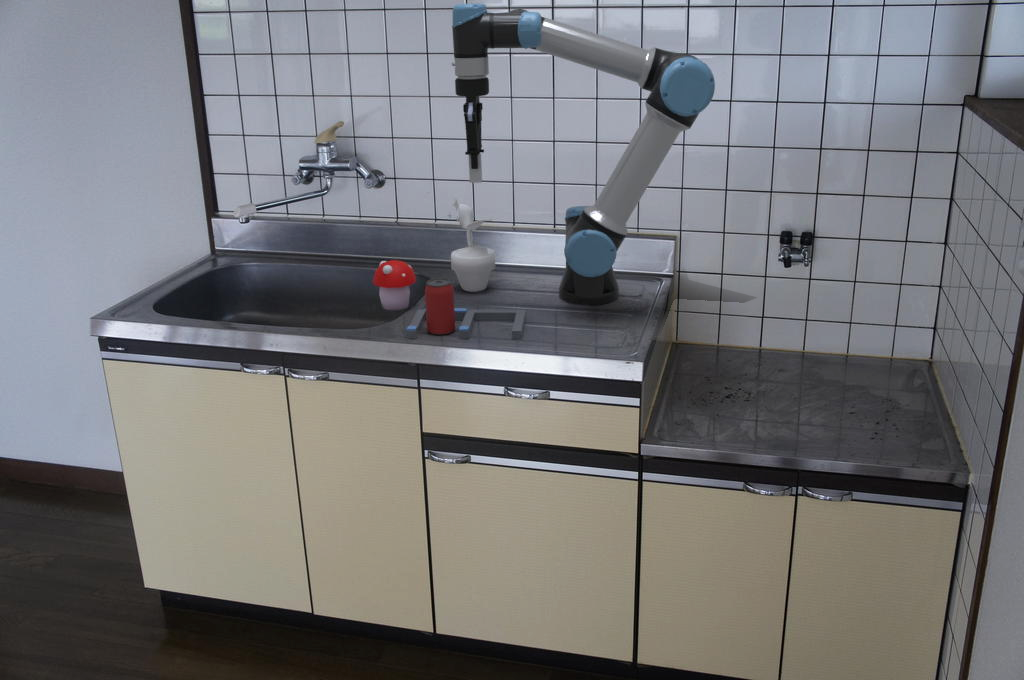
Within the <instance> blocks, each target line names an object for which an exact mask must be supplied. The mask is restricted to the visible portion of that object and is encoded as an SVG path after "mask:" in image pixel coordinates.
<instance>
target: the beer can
mask: <svg viewBox="0 0 1024 680" xmlns="http://www.w3.org/2000/svg"><path fill="white" fill-rule="evenodd" d="M454 293H455V292H454V287H453V285H452V281H451V280H450V279H448V278H444V277H441V278H440V277H439V278H438V277H437V278H431V279H429V280H427V281H426V285H425V289H424V302H425V309H426V319H427V320H426V330H427V332H429V333H430V334H432V335H434V336H436V335H437V336H440V335H441V336H442V335H449V334H451V333H454V331H455V330H456V320H455V312H454V308H455V301H454V300H455V297H454V296H455V295H454Z"/></svg>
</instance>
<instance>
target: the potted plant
mask: <svg viewBox="0 0 1024 680" xmlns="http://www.w3.org/2000/svg"><path fill="white" fill-rule="evenodd" d="M452 206H454V208H455V210H456V211H458V213H459V214H458V216H456V218H455V220H456V222H457V223H459V225H460V226H461V227H462V229H464V230H466V233H465V234H466V241H467V245H468V246H464V248H463V247H462V248H458V249H455V250H452V251H451V254H450V265H451V267H450V268H451V270H452V271H454V272H455V275H456V276H457V280H458V282H459V285H460V288H461V289H462V290H464V291H466V292H470V293H473V292H474V293H477V292H483V291H484V290H485V289H487V287H488V283H489V280H490V276H491V273H492V271H493V270H495V268H496V256H495V255H496V251H495V250H493V249H491V248H488V247H486V246H482V245H477V244H475V245H474V240H473V239H474V238H473V231H475V230H477V229H478V228H479V227H480V226H482V224H483V223H484V222H488V221H489V222H490V221H492V218H487V219H480V220H478V219H477V220H475V221H474V217H475V216H474V215H475V213H474V210H473V207H471V206H470V205H468V204H464V203H458V201H457V199H455V201H454V203H453V204H452ZM447 217H449V219H451V217H452V214H451V213H450V211H449V213H448V215H447Z"/></svg>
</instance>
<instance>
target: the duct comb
mask: <svg viewBox="0 0 1024 680" xmlns="http://www.w3.org/2000/svg"><path fill="white" fill-rule="evenodd" d="M454 312H455V321H462V323H461V324H460V326H459V328H458V330H459V333H458V334H459V340H469V339H470V336H471V333H472V330H473V327H474V324H475V321H513V325H512V329H511V338H512V340H522V337H523V331H524V327H525V322H526V309H468V308H467V307H465V308H461V307H459V308H458V307H457V308H456V307H454ZM426 321H427V319H426V308H425V309H417V310H416V312H415V314H414V316H413V318H412V320H411V322H410V324H409V325H408V326H407V327H406V337H407V339H408V340H413V339H414V340H416V339H417V337H418V336H419V334H420V332H421V330H422V328H423V326H424V324H425V322H426Z"/></svg>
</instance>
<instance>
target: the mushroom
mask: <svg viewBox="0 0 1024 680" xmlns="http://www.w3.org/2000/svg"><path fill="white" fill-rule="evenodd" d="M416 281H417V277H416V275H415V271H414V269H413V267H412V266H411V265H410V264H407V262H405V261H401V260H396V259H391V260H389V261H387V260H382V261H380V263H379V266H378V267H377V268H376V269H375V271H374V275H373V280H372V284H373V285H374V286H376V287H379V292H378V295H379V298H380V303H381V307H382V309H383V310H387V311H401V310H405V309H407V308H408V307H409V304H410V295H411V290H410V286H411V285H414V283H415V282H416Z"/></svg>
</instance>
